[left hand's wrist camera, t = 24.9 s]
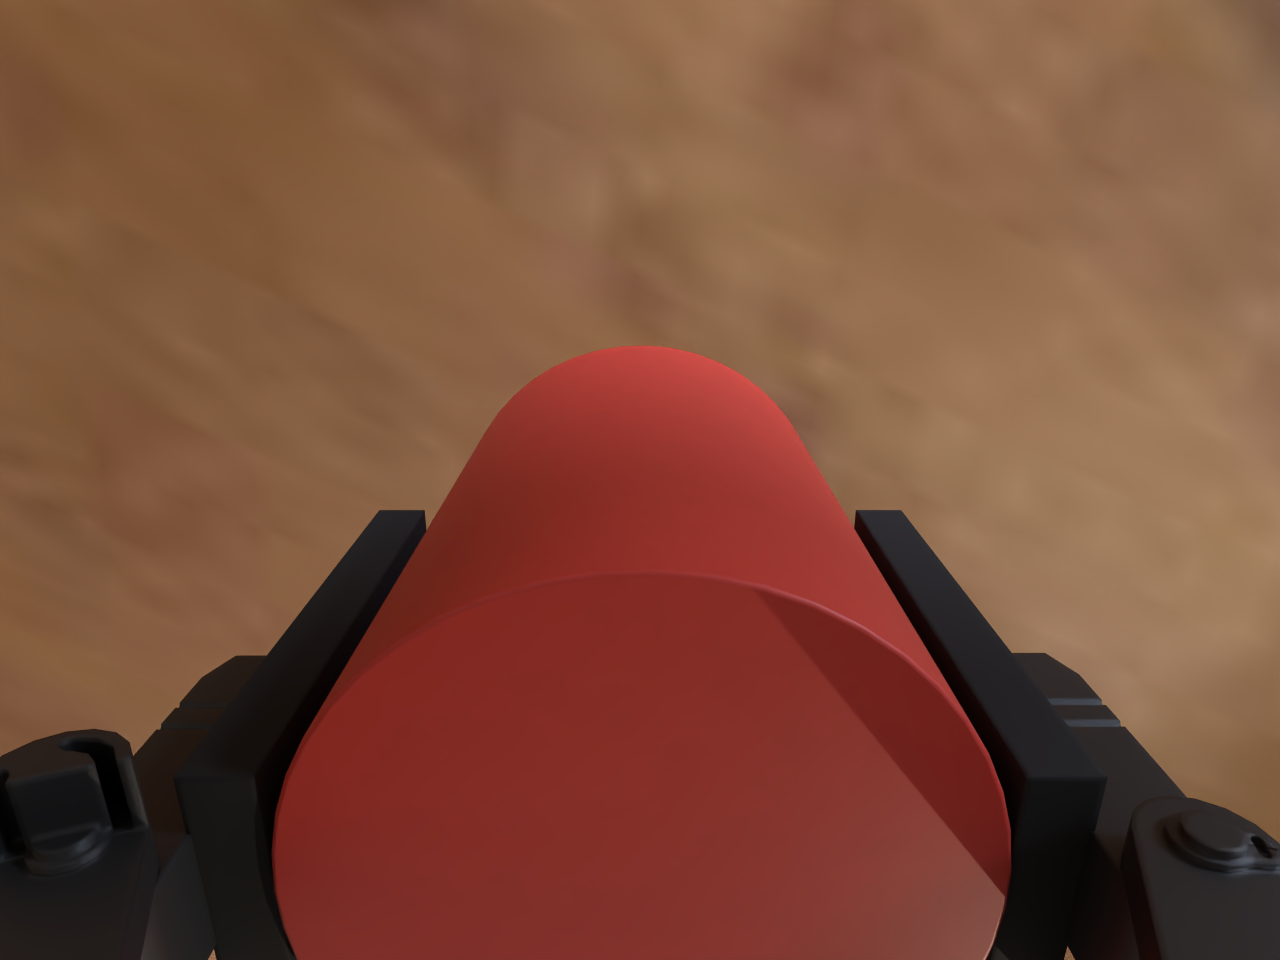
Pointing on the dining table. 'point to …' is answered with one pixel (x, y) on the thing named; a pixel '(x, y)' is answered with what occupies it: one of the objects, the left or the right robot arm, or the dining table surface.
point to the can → (641, 710)
